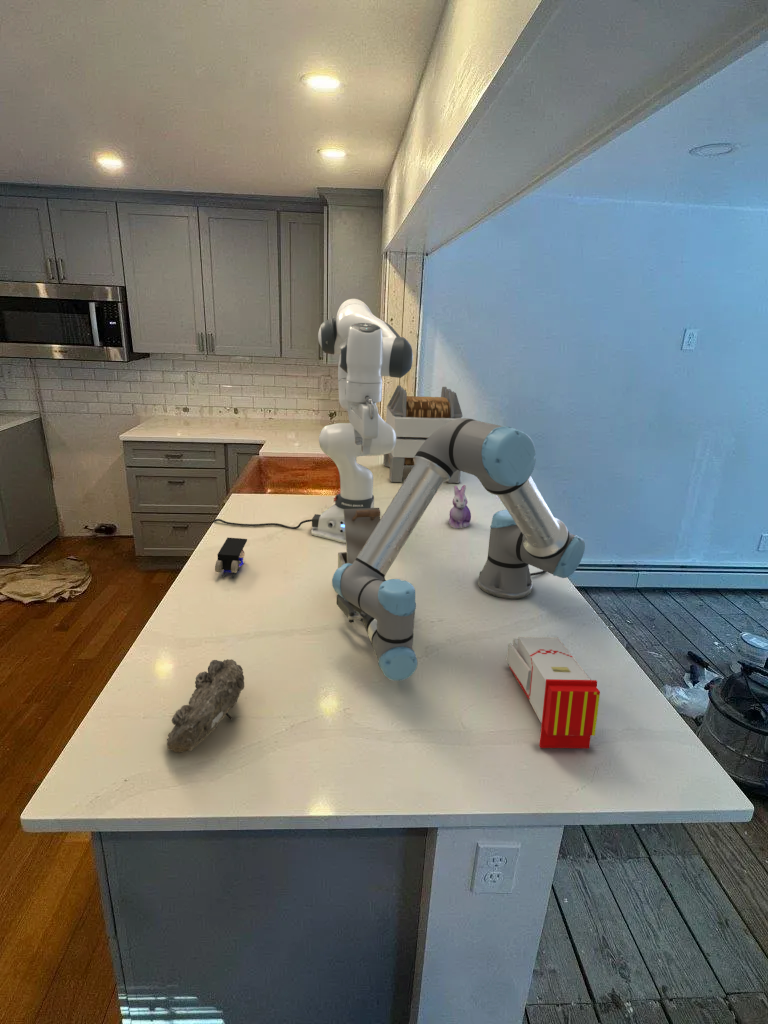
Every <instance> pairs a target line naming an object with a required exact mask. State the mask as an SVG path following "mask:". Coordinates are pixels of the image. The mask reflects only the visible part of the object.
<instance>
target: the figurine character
mask: <svg viewBox="0 0 768 1024" xmlns="http://www.w3.org/2000/svg"><path fill="white" fill-rule="evenodd" d="M247 542H248V538H240V537H226V539H225V541H224V543H223V544H222V546H221V547H220V549H219V551H218V552H217V560H216V562H215V564H214V572H215V573H221V577H222V578H224V577H225V576H226V574H227V573H230V574H231V573H232V574H231V578H234V577H235V575H236V573H237V572H239V571H240V567H242V566H243V565H244V564H245V562H244V558H245V551H244V547H245V546H246V544H247Z"/></svg>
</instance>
